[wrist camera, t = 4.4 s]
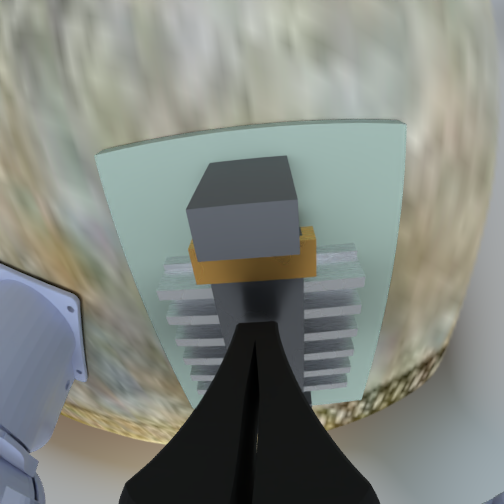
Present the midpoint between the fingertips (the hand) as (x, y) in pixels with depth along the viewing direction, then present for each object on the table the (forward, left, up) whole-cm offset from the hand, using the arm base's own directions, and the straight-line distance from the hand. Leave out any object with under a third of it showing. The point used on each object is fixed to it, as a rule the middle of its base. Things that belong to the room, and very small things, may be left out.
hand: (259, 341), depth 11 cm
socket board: (-2, -1, -4) cm, 5 cm away
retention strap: (-3, -1, -2) cm, 3 cm away
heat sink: (-2, -1, -4) cm, 5 cm away
